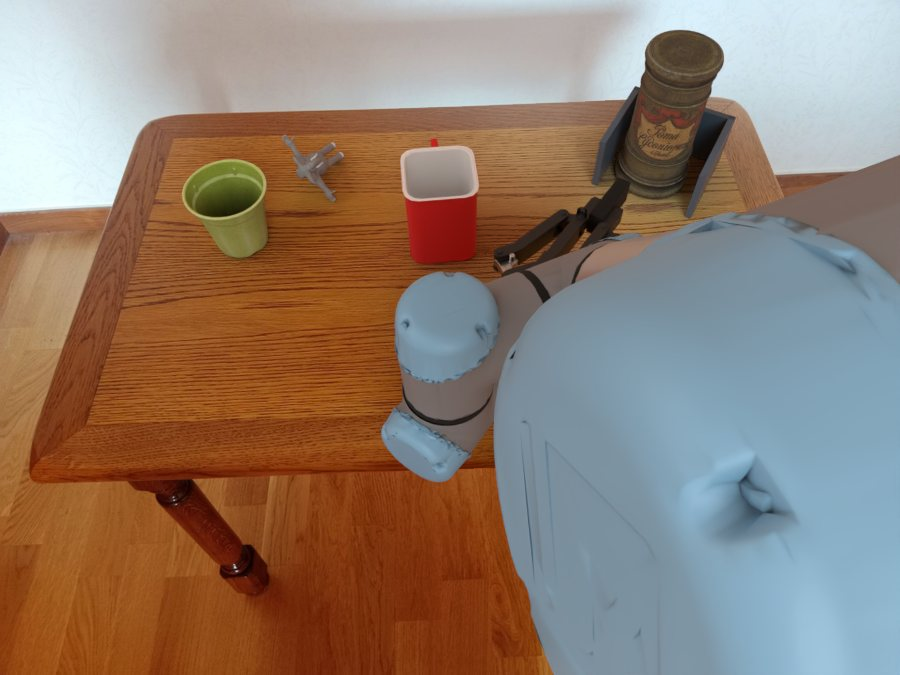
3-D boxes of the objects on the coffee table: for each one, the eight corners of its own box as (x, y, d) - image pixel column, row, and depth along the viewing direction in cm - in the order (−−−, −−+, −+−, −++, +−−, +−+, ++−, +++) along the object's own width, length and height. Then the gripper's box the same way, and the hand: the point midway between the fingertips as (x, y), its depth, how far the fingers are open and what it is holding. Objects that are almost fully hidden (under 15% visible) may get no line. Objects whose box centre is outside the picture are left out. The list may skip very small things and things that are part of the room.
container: (613, 149, 94) (641, 24, 79) (681, 153, 93) (723, 28, 78) (614, 198, 89) (645, 74, 74) (687, 202, 88) (732, 78, 73)
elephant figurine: (373, 171, 93) (339, 196, 86) (345, 194, 96) (310, 220, 89) (325, 107, 91) (285, 128, 84) (298, 132, 94) (258, 154, 87)
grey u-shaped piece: (690, 218, 87) (706, 176, 81) (591, 183, 91) (599, 140, 85) (719, 160, 93) (736, 116, 87) (624, 129, 96) (635, 85, 90)
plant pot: (288, 212, 89) (272, 159, 82) (275, 270, 84) (257, 219, 76) (214, 211, 89) (192, 158, 82) (197, 269, 84) (172, 218, 77)
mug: (479, 261, 84) (481, 196, 75) (409, 267, 83) (403, 202, 75) (468, 189, 90) (469, 122, 82) (404, 194, 90) (397, 127, 81)
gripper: (451, 327, 72) (566, 190, 83) (562, 389, 68) (669, 236, 78) (450, 281, 66) (574, 139, 77) (572, 346, 62) (686, 187, 72)
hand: (622, 189), depth 77 cm, fingers closed
